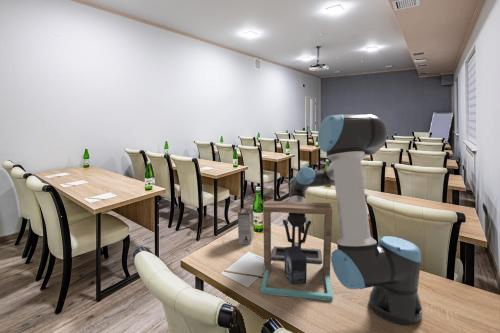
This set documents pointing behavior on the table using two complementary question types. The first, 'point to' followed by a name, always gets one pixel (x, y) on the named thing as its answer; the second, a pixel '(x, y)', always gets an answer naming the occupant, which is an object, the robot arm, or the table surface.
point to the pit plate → (310, 254)
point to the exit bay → (294, 292)
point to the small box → (295, 265)
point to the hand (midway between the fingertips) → (296, 258)
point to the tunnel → (305, 209)
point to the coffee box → (245, 226)
